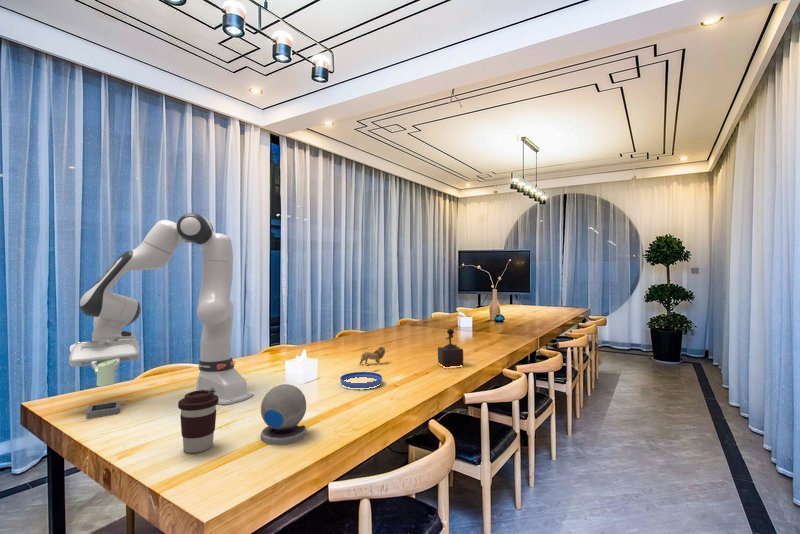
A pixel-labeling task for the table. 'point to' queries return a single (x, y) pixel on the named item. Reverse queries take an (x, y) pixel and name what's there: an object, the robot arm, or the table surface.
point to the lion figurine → (373, 355)
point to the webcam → (283, 415)
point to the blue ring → (361, 374)
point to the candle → (106, 373)
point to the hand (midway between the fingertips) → (105, 372)
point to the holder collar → (103, 409)
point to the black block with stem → (450, 353)
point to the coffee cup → (198, 420)
